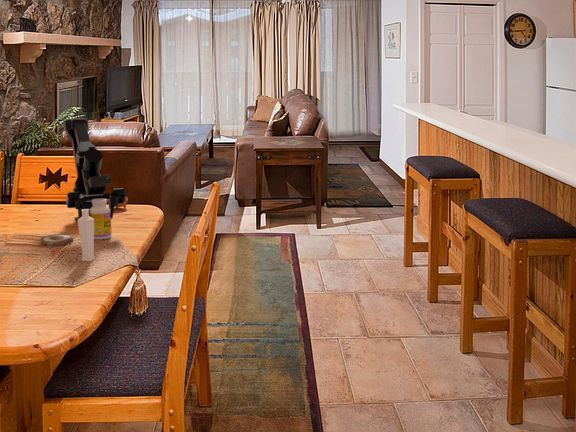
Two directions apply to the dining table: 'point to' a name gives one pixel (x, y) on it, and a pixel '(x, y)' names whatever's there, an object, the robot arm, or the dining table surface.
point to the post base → (56, 240)
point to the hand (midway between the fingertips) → (101, 219)
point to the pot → (122, 203)
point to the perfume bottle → (86, 235)
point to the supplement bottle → (101, 219)
